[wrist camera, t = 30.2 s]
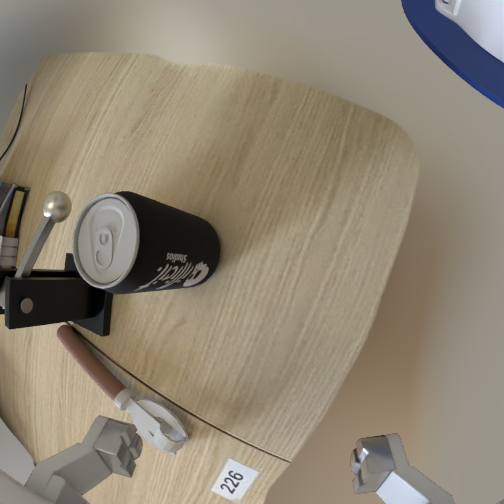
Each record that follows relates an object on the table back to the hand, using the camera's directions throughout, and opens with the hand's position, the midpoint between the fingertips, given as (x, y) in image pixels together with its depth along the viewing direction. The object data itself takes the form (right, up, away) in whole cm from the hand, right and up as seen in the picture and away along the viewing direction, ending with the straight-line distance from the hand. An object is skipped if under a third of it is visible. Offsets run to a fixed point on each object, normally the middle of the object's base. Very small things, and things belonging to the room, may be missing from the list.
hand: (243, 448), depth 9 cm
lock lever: (-20, +6, +15) cm, 26 cm away
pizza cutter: (-15, -9, +21) cm, 27 cm away
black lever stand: (-19, +2, +22) cm, 29 cm away
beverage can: (-5, +7, +19) cm, 21 cm away
